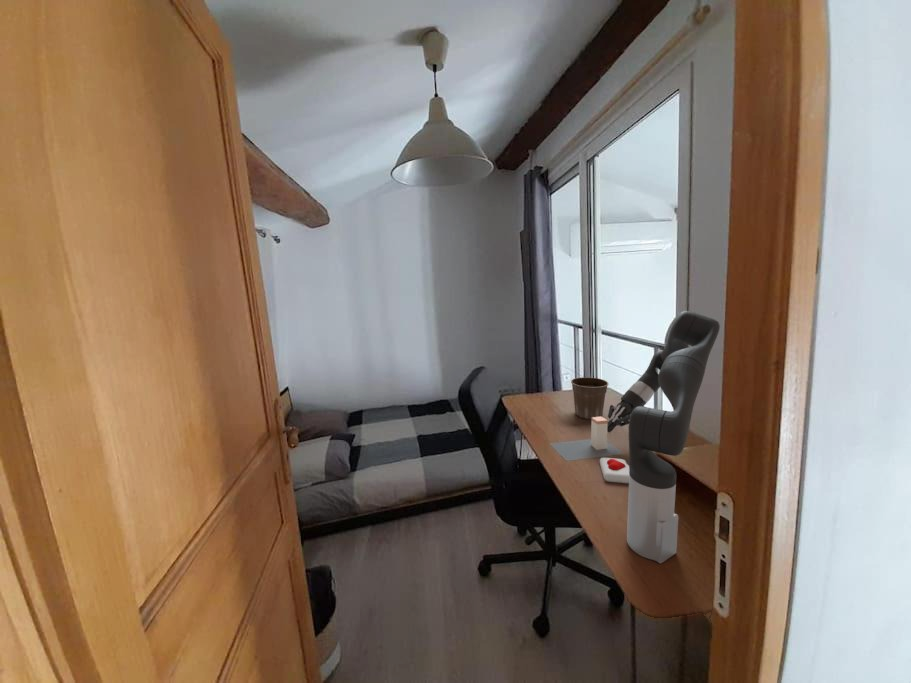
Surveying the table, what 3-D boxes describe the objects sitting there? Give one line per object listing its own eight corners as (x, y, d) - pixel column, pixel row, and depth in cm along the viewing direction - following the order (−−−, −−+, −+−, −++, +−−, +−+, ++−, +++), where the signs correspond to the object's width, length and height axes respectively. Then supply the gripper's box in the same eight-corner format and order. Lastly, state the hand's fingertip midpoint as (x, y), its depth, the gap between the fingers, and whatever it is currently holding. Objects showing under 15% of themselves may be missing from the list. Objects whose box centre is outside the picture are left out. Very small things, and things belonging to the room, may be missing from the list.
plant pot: (609, 423, 152) (610, 387, 150) (570, 420, 157) (570, 385, 155) (606, 410, 167) (606, 378, 165) (570, 407, 173) (571, 376, 170)
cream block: (600, 443, 132) (601, 416, 130) (606, 448, 128) (607, 420, 126) (591, 445, 131) (591, 417, 129) (596, 449, 127) (597, 421, 125)
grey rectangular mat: (601, 438, 137) (601, 437, 137) (624, 455, 123) (624, 453, 123) (549, 445, 134) (549, 443, 134) (566, 462, 120) (566, 460, 120)
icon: (640, 473, 104) (604, 470, 107) (639, 486, 105) (604, 483, 108) (631, 454, 116) (599, 451, 119) (630, 466, 117) (598, 463, 119)
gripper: (620, 384, 134) (590, 418, 134) (643, 394, 121) (610, 431, 121) (632, 397, 136) (602, 429, 136) (656, 408, 123) (623, 444, 123)
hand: (606, 430), depth 129 cm, fingers closed
